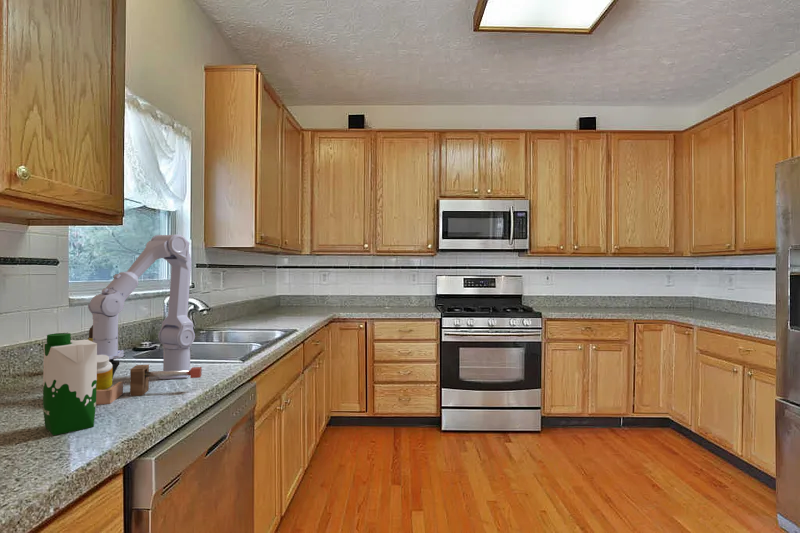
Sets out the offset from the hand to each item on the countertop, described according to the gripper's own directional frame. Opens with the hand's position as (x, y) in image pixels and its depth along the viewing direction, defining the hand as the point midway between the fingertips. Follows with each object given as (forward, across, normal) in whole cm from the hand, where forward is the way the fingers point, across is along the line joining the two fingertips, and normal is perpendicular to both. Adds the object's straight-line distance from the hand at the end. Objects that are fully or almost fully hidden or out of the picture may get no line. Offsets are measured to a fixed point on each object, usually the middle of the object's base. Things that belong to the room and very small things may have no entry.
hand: (104, 389), depth 123 cm
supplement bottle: (0, -3, -1) cm, 3 cm away
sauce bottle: (+1, +27, +17) cm, 32 cm away
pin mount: (+1, 0, -9) cm, 9 cm away
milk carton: (+1, -26, -8) cm, 28 cm away
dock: (+1, -6, -1) cm, 6 cm away
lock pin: (-3, +1, -16) cm, 16 cm away
